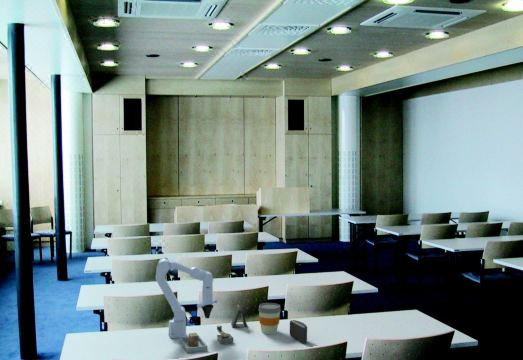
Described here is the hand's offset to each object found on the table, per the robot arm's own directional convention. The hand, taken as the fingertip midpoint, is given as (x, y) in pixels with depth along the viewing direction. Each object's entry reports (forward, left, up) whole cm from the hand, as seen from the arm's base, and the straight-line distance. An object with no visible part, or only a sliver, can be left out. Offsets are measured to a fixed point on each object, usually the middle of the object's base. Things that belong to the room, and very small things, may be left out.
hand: (207, 317), depth 333 cm
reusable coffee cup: (+35, -6, -10) cm, 37 cm away
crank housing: (+6, -11, -9) cm, 16 cm away
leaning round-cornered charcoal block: (+45, -25, -10) cm, 52 cm away
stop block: (-12, -17, -9) cm, 23 cm away
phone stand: (+22, +9, -10) cm, 26 cm away
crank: (+6, -11, -6) cm, 14 cm away
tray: (-12, -17, -9) cm, 23 cm away
